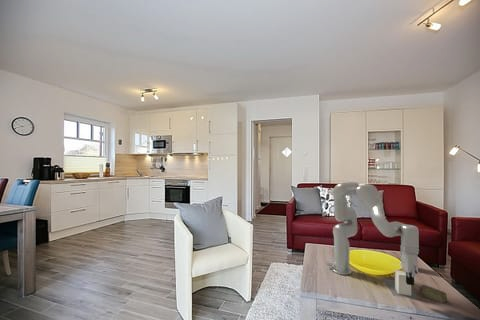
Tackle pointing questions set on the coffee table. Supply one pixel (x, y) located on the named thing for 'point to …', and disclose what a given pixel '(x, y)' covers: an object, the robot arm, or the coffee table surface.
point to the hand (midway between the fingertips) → (410, 284)
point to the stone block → (433, 293)
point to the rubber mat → (391, 286)
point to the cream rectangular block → (402, 283)
